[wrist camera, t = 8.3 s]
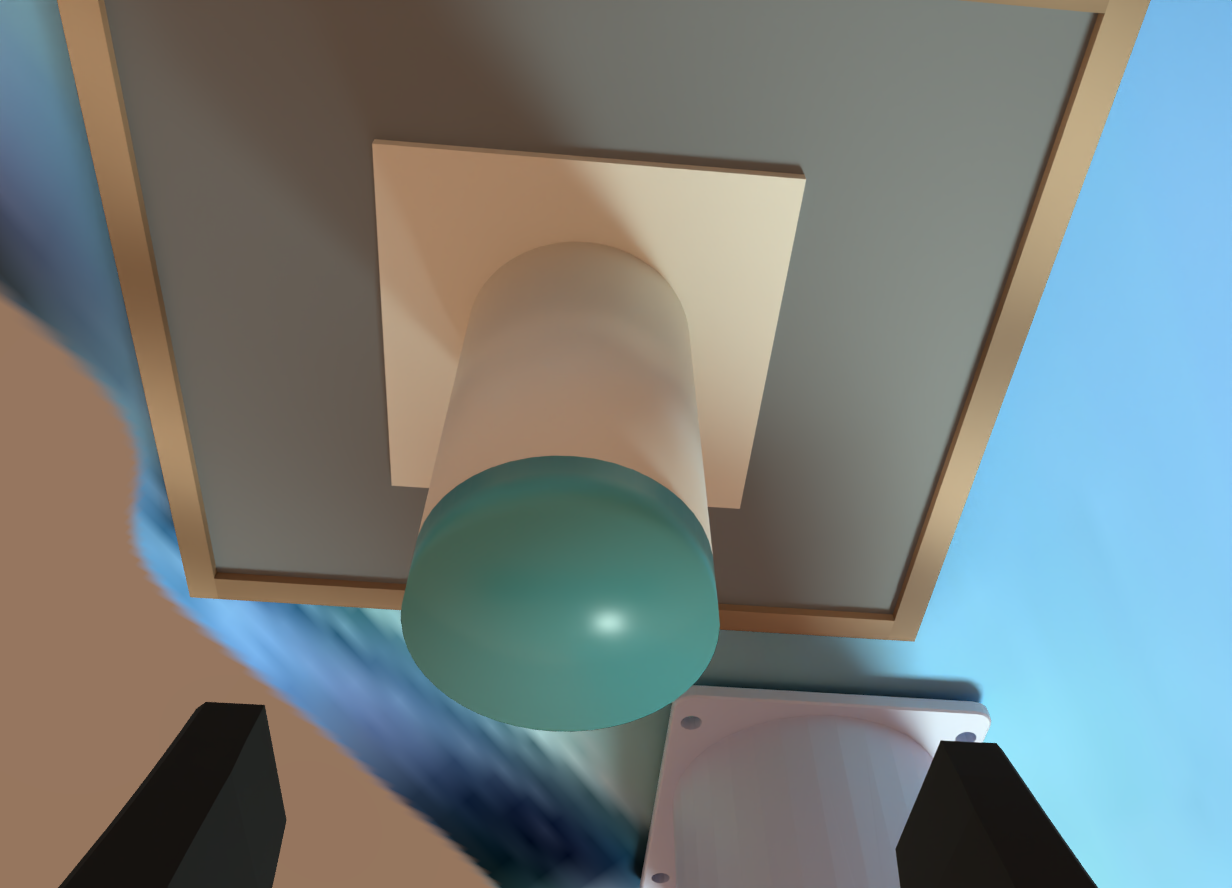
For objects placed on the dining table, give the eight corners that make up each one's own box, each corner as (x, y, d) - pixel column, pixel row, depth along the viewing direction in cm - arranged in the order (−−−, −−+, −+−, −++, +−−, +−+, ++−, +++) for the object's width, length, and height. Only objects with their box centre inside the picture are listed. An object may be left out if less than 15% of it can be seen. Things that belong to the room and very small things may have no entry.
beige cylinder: (675, 440, 20) (697, 738, 14) (467, 426, 20) (406, 723, 14) (703, 251, 18) (743, 519, 12) (466, 232, 17) (394, 496, 12)
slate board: (902, 603, 24) (914, 641, 23) (207, 559, 23) (190, 597, 22) (1127, -45, 16) (1160, -27, 15) (65, -144, 15) (27, -132, 14)
